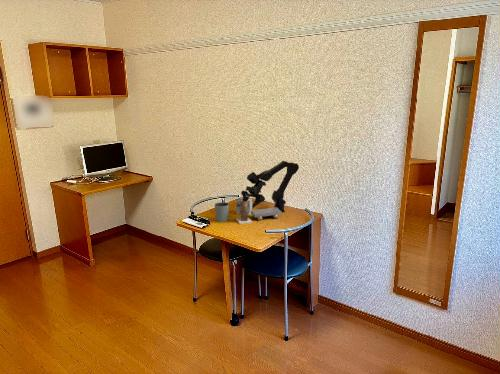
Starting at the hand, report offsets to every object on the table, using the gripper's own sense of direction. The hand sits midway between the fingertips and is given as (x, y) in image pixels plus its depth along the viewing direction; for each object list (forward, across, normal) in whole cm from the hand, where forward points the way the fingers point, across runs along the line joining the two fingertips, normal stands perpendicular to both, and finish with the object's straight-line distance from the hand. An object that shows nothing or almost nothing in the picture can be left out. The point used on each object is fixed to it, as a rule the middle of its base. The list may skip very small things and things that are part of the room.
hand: (247, 206), depth 269 cm
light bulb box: (+1, -12, +14) cm, 19 cm away
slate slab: (-1, +7, +16) cm, 17 cm away
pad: (+10, 0, +5) cm, 11 cm away
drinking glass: (+16, -14, -1) cm, 21 cm away
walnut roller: (+9, 0, +4) cm, 10 cm away
